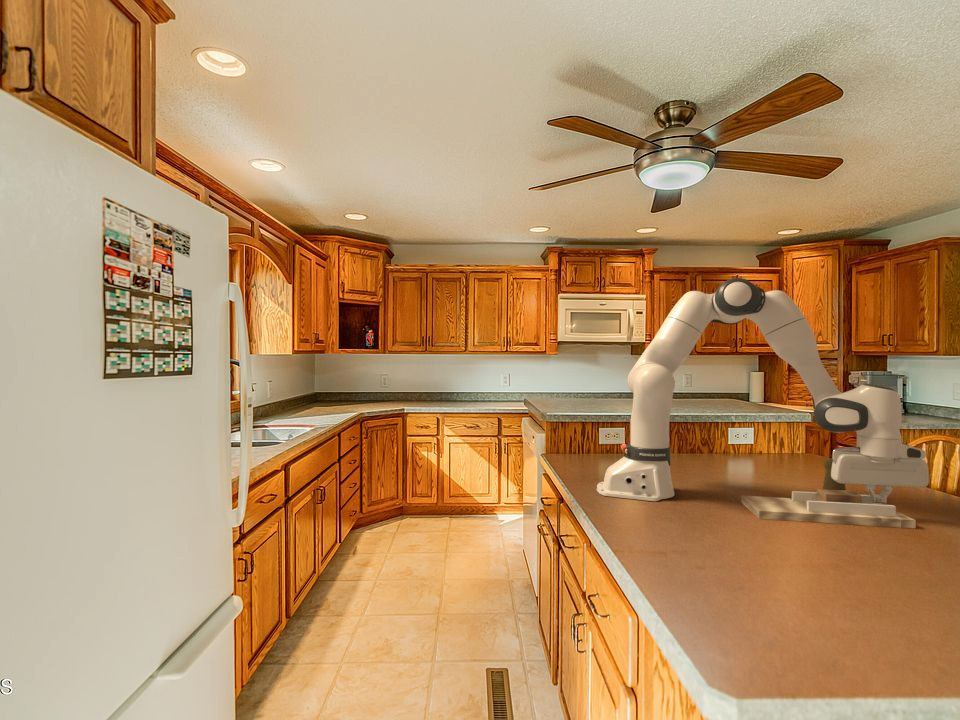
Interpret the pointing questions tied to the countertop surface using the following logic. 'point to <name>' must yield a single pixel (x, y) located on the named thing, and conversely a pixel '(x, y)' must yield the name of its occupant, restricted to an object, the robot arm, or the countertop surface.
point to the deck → (817, 513)
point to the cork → (828, 480)
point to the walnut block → (838, 496)
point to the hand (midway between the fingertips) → (878, 502)
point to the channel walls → (843, 505)
